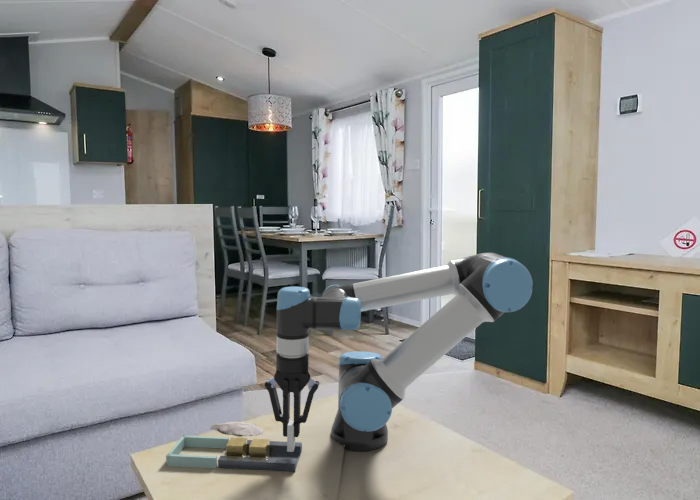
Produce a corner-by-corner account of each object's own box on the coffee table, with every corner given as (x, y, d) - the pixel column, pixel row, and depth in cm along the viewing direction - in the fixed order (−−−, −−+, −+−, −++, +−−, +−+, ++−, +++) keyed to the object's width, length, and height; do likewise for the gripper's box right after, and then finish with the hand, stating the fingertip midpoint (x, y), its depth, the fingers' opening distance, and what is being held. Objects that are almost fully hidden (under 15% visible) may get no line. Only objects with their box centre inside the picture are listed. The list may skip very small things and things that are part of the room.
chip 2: (269, 454, 123) (269, 439, 122) (265, 463, 119) (265, 447, 118) (253, 454, 123) (253, 438, 123) (249, 462, 119) (248, 446, 119)
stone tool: (205, 438, 133) (260, 445, 132) (205, 427, 133) (260, 434, 132) (216, 422, 141) (268, 429, 140) (216, 412, 141) (268, 419, 140)
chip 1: (247, 453, 123) (247, 438, 123) (242, 462, 119) (242, 446, 119) (231, 453, 123) (231, 437, 123) (226, 461, 119) (226, 445, 119)
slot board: (301, 453, 125) (301, 442, 125) (294, 476, 116) (294, 463, 115) (230, 450, 127) (230, 439, 126) (218, 472, 117) (217, 459, 116)
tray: (228, 450, 127) (228, 437, 126) (215, 472, 117) (215, 458, 116) (183, 448, 127) (182, 435, 127) (166, 469, 117) (166, 455, 117)
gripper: (322, 349, 121) (320, 442, 123) (268, 347, 122) (267, 439, 124) (318, 359, 113) (316, 458, 116) (261, 356, 114) (260, 455, 117)
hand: (291, 448), depth 120 cm, fingers closed
